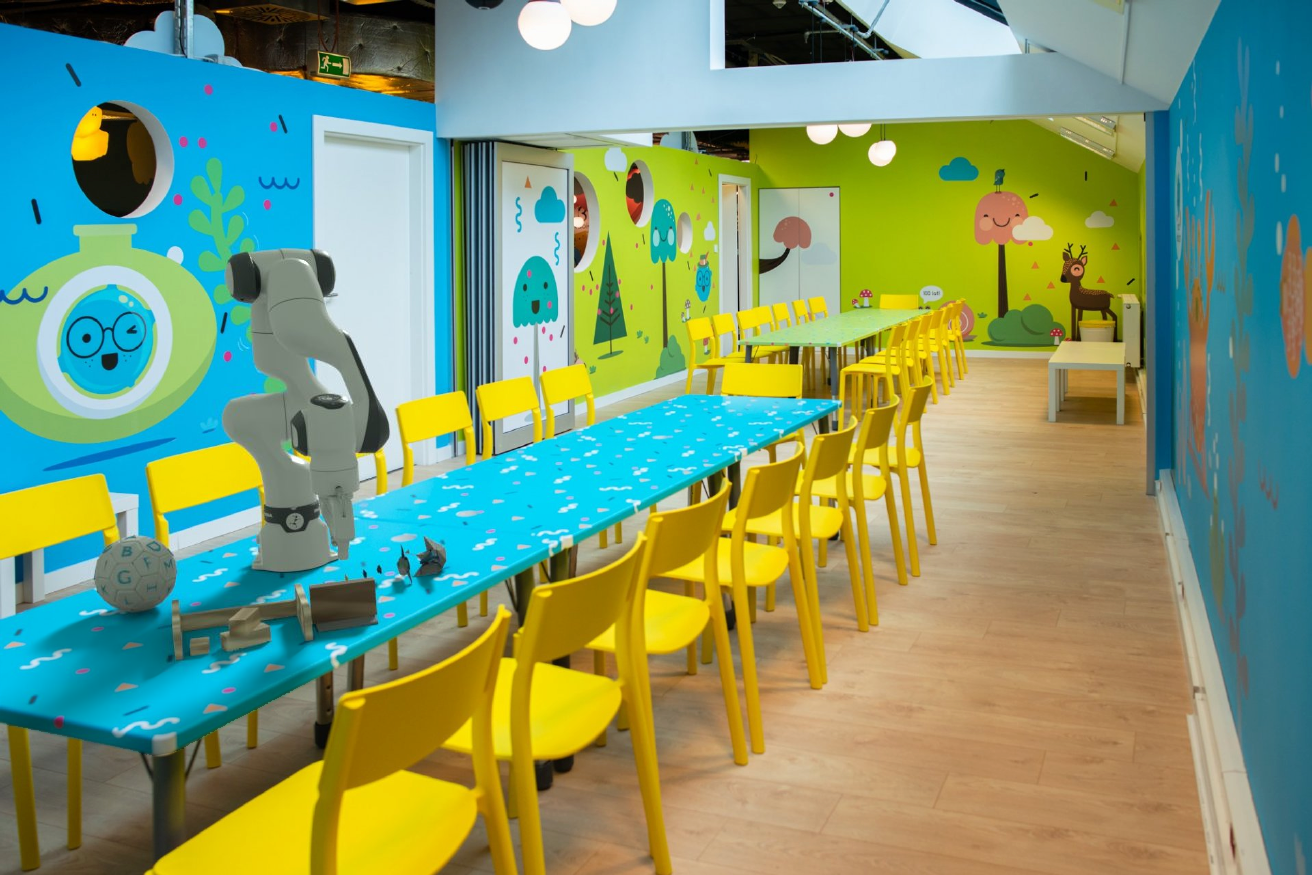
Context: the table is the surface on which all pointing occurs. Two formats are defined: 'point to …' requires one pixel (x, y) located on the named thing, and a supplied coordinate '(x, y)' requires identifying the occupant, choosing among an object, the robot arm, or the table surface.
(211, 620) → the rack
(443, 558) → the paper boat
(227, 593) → the table surface
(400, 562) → the toy fish set
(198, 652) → the offcut
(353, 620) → the mat
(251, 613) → the offcut
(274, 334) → the robot arm
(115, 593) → the puzzle ball
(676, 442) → the table surface
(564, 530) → the table surface
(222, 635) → the offcut
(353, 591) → the walnut board
